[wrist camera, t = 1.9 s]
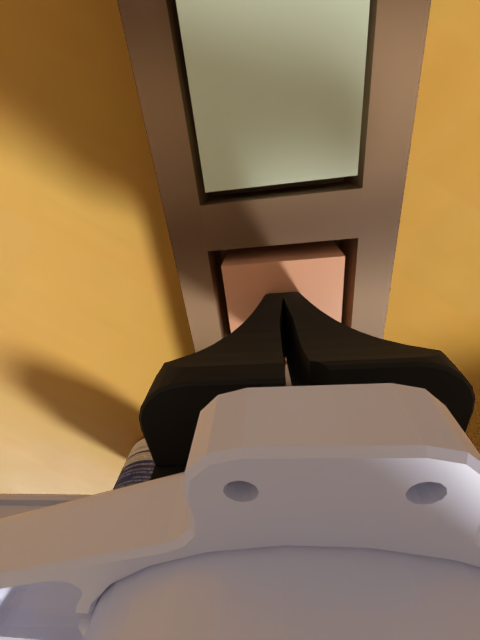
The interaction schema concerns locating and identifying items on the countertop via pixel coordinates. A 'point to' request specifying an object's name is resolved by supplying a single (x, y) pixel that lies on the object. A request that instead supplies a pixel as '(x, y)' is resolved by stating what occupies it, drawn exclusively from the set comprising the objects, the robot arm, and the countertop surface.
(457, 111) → the countertop surface
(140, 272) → the countertop surface
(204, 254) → the board
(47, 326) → the countertop surface
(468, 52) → the countertop surface
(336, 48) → the key sage
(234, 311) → the salmon orange square block
